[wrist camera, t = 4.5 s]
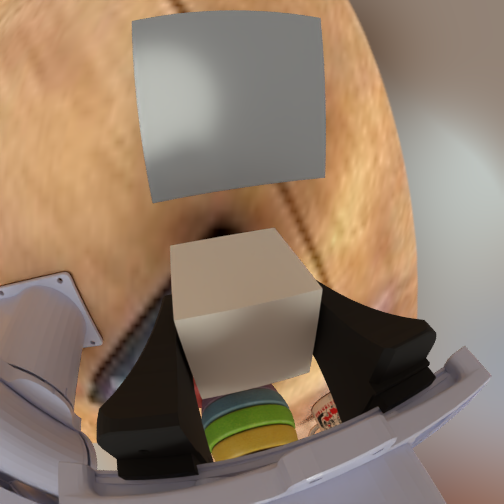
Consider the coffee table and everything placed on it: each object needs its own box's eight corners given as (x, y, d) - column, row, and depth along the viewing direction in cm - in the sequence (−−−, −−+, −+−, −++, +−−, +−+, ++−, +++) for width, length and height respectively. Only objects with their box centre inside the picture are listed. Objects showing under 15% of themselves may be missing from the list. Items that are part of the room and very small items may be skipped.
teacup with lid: (346, 378, 38) (382, 436, 29) (362, 389, 43) (393, 437, 34) (286, 418, 40) (312, 475, 30) (310, 424, 45) (334, 472, 35)
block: (189, 323, 15) (202, 399, 11) (170, 245, 12) (173, 320, 8) (274, 305, 16) (309, 372, 12) (274, 227, 13) (322, 288, 9)
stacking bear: (229, 336, 26) (296, 514, 11) (290, 364, 31) (356, 491, 17) (167, 390, 28) (198, 536, 13) (231, 408, 33) (271, 524, 18)
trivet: (153, 197, 18) (152, 203, 17) (134, 26, 11) (132, 21, 10) (317, 173, 20) (324, 177, 19) (312, 21, 14) (320, 18, 13)
